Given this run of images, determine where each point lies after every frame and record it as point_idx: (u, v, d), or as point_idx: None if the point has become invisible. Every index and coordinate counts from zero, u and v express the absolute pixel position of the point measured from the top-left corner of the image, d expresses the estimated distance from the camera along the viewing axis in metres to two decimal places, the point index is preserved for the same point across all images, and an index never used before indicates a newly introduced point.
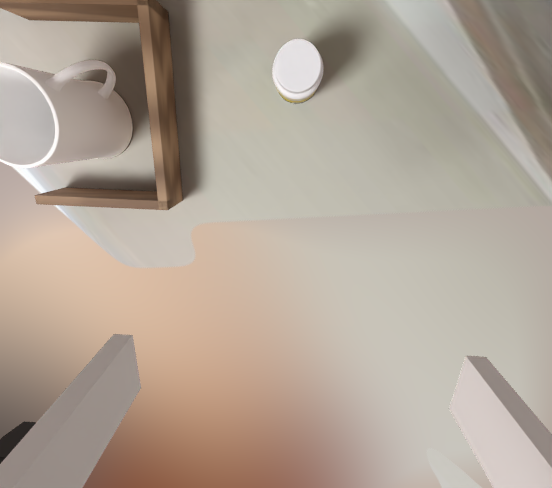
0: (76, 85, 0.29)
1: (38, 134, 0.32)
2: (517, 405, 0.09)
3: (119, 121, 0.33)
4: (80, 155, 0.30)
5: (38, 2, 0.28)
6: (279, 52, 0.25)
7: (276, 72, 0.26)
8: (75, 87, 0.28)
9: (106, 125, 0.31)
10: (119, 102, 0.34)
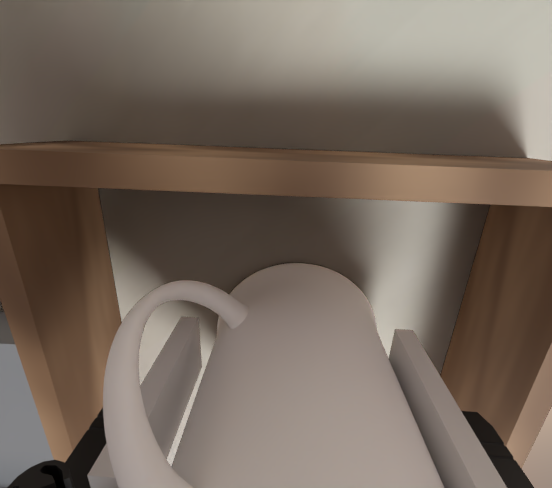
0: (208, 391, 0.10)
1: None
2: (426, 367, 0.11)
3: (301, 291, 0.13)
4: (421, 441, 0.09)
5: (59, 410, 0.12)
6: None
7: None
8: (210, 401, 0.09)
9: (317, 330, 0.10)
10: (257, 282, 0.14)
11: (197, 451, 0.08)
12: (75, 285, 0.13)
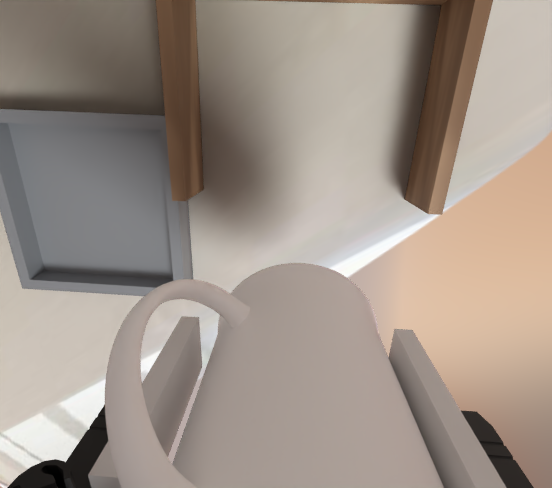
0: (208, 390, 0.10)
1: None
2: (426, 367, 0.11)
3: (303, 291, 0.13)
4: (421, 441, 0.09)
5: (179, 131, 0.21)
6: None
7: None
8: (211, 400, 0.09)
9: (318, 330, 0.10)
10: (258, 282, 0.14)
11: (198, 449, 0.08)
12: (187, 63, 0.22)
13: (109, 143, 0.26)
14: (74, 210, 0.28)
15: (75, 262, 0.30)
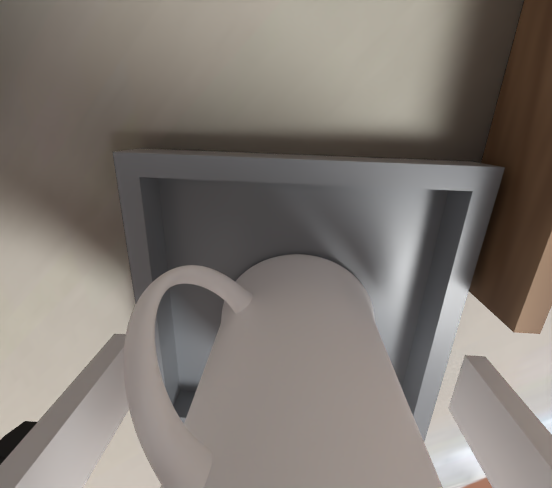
0: (214, 367, 0.10)
1: None
2: (516, 404, 0.09)
3: (303, 280, 0.14)
4: (410, 415, 0.09)
5: None
6: None
7: None
8: (217, 375, 0.10)
9: (317, 314, 0.11)
10: (261, 271, 0.15)
11: (205, 416, 0.08)
12: None
13: (334, 206, 0.15)
14: None
15: None
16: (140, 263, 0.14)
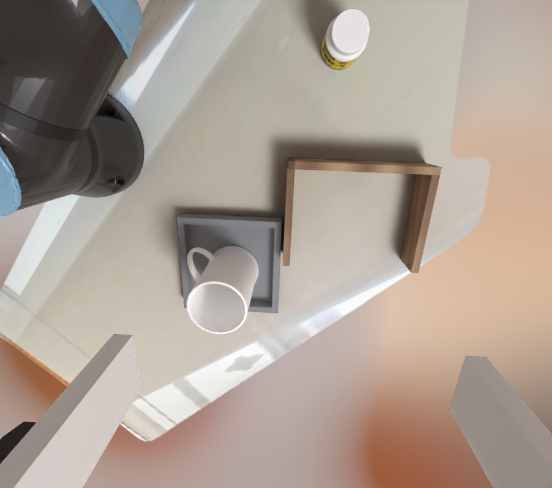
0: (204, 271, 0.44)
1: (236, 304, 0.47)
2: (517, 405, 0.09)
3: (230, 252, 0.47)
4: (246, 279, 0.43)
5: (290, 234, 0.44)
6: (340, 48, 0.32)
7: (353, 51, 0.32)
8: (204, 271, 0.43)
9: (230, 259, 0.45)
10: (219, 251, 0.49)
11: (201, 276, 0.42)
12: None
13: (242, 231, 0.49)
14: None
15: None
16: (182, 248, 0.48)
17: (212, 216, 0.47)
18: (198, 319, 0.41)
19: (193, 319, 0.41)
